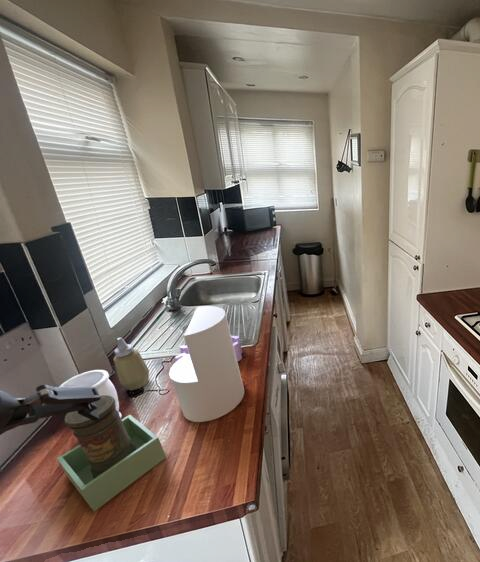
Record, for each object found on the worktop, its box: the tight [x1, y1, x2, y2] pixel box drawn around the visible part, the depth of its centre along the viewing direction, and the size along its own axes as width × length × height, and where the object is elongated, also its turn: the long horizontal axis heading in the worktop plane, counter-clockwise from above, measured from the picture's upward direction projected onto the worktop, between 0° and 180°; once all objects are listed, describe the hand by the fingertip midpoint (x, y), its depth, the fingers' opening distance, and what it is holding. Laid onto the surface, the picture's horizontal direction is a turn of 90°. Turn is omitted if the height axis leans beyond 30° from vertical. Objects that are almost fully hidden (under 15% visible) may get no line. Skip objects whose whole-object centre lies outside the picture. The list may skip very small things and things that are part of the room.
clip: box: [174, 335, 244, 363], centre depth 111 cm, size 20×12×7 cm, turn 110°
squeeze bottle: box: [113, 337, 150, 391], centre depth 99 cm, size 8×8×18 cm
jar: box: [59, 369, 123, 419], centre depth 84 cm, size 11×10×15 cm
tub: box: [56, 414, 167, 512], centre depth 73 cm, size 15×15×7 cm
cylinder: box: [168, 305, 245, 423], centre depth 89 cm, size 17×17×28 cm
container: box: [64, 395, 137, 479], centre depth 70 cm, size 9×9×18 cm
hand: (49, 439), depth 56 cm, fingers open, 13 cm apart
